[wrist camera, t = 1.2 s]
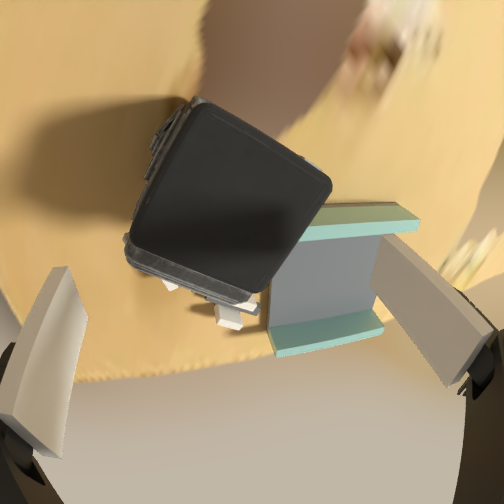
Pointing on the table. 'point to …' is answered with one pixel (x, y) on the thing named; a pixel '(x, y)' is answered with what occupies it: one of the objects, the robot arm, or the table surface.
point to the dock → (332, 278)
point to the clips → (226, 311)
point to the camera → (221, 204)
